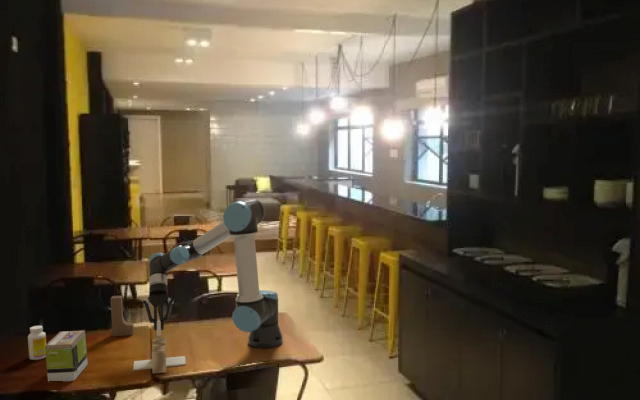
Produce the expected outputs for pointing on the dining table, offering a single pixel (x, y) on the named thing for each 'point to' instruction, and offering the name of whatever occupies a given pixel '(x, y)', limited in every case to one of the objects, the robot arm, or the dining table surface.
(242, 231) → the robot arm
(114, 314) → the wooden block
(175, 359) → the mat
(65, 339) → the tea box
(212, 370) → the dining table surface
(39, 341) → the supplement bottle
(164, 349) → the block
